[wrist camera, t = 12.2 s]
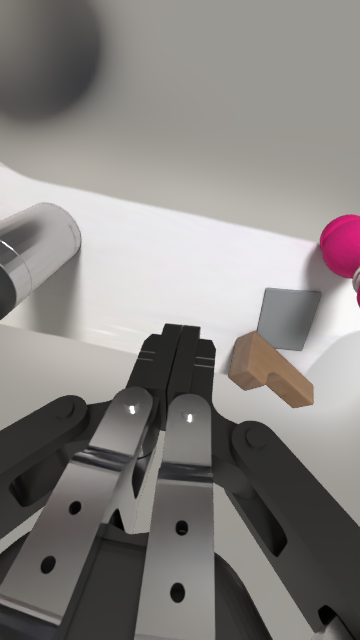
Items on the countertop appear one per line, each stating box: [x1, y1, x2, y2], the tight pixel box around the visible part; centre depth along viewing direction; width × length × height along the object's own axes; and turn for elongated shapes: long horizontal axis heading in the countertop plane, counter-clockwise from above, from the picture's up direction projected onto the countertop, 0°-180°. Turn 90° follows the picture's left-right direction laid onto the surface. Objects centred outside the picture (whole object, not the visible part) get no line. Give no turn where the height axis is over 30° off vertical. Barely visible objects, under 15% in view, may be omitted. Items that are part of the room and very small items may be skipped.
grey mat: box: [257, 288, 322, 351], centre depth 49 cm, size 8×12×1 cm
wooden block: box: [228, 331, 314, 408], centre depth 52 cm, size 9×4×18 cm
